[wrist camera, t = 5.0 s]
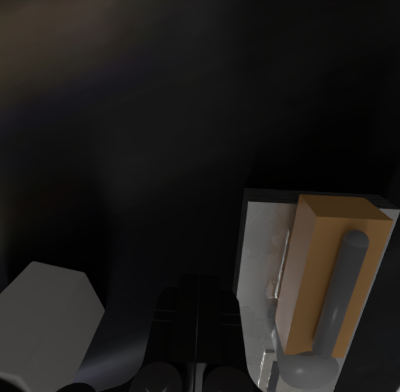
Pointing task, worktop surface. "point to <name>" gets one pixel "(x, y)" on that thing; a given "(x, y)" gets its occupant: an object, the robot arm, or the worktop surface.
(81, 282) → the jar
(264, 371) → the plate
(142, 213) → the worktop surface
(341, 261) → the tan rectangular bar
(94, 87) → the worktop surface
